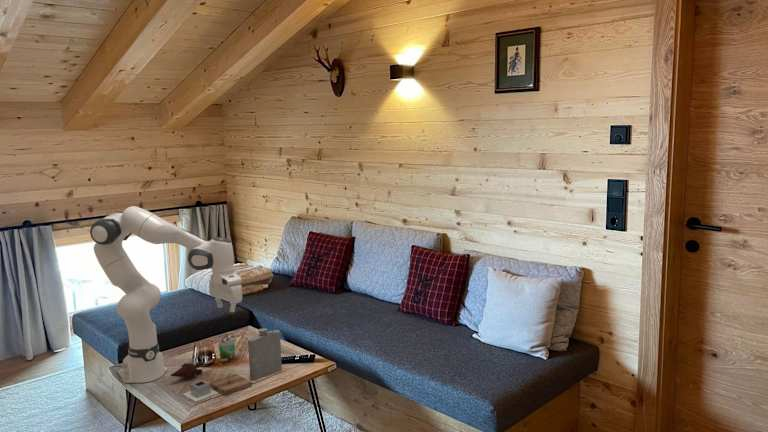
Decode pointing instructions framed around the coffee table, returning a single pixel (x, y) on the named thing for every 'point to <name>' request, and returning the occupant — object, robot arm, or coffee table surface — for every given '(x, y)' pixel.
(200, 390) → the collar
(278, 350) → the hip flask
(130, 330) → the robot arm
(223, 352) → the food container
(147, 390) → the coffee table surface
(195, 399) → the pad
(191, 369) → the icecream
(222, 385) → the peg stand
